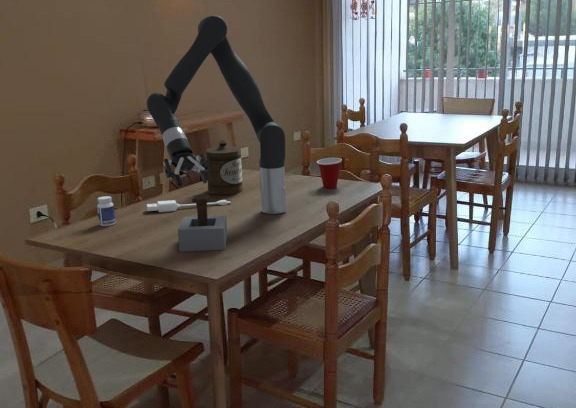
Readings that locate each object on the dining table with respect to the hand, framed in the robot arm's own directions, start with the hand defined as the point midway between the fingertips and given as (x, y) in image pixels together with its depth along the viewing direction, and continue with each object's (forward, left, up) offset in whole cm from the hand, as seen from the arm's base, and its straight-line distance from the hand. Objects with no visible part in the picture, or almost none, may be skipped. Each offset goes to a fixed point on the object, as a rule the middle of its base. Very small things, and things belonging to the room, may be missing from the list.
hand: (193, 184), depth 193 cm
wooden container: (-6, -63, -19) cm, 66 cm away
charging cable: (+7, -38, -19) cm, 43 cm away
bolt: (-3, +5, -18) cm, 19 cm away
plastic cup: (-51, -63, -19) cm, 83 cm away
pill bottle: (+34, -20, -19) cm, 44 cm away
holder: (-3, +5, -19) cm, 19 cm away
